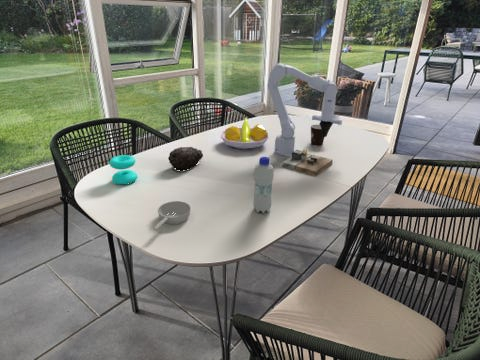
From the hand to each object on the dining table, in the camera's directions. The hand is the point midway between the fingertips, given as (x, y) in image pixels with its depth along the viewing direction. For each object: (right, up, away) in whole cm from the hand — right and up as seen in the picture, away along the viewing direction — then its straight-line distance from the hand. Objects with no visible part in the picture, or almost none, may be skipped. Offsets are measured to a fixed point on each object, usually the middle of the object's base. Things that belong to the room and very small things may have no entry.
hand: (324, 136), depth 159 cm
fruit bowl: (-39, -2, +20) cm, 44 cm away
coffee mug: (+2, -1, +23) cm, 23 cm away
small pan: (-65, -36, -52) cm, 91 cm away
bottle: (-34, -32, -44) cm, 64 cm away
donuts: (-89, -22, -24) cm, 95 cm away
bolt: (-13, -11, -5) cm, 18 cm away
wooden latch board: (-9, -14, -6) cm, 18 cm away
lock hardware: (-11, -12, -6) cm, 17 cm away
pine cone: (-67, -15, -8) cm, 69 cm away
